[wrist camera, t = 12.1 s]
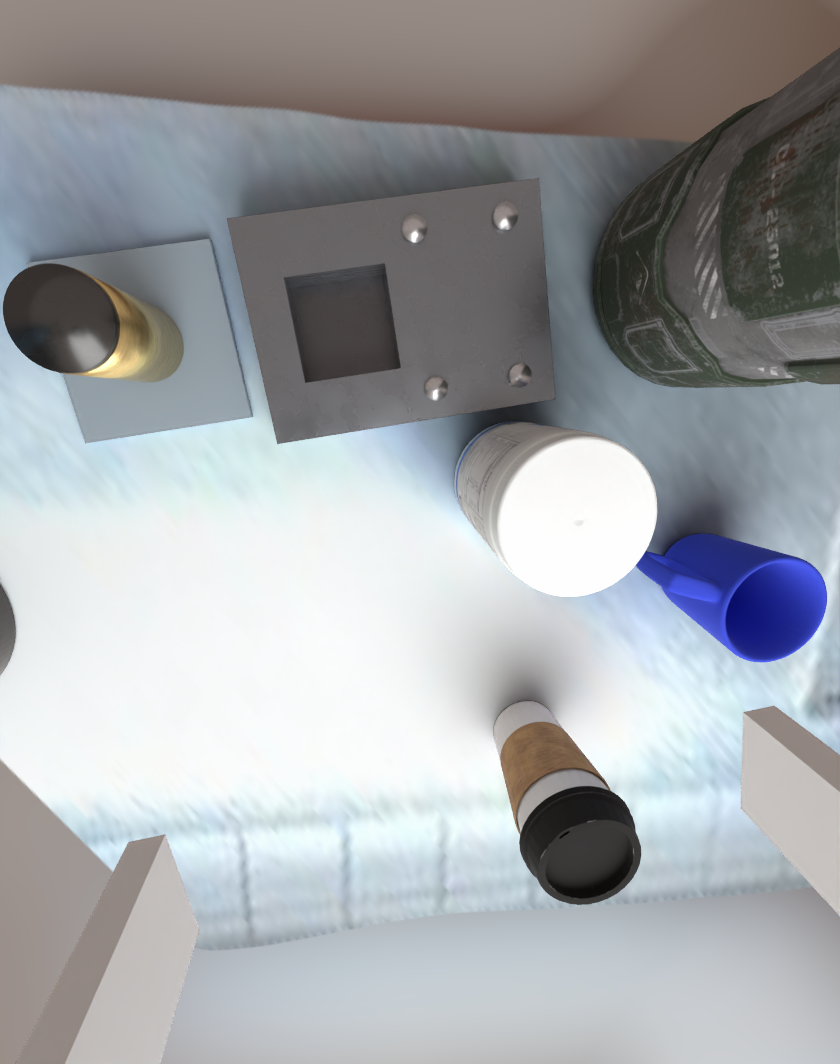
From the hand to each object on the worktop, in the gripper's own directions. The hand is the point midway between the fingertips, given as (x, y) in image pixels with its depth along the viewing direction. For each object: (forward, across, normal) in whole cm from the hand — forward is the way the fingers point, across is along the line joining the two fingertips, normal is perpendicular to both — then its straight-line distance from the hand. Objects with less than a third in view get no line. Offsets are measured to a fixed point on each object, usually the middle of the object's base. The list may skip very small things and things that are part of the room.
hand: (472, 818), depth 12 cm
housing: (+32, +3, +14) cm, 35 cm away
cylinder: (+31, -15, +15) cm, 38 cm away
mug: (+32, +24, -9) cm, 41 cm away
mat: (+32, -15, +15) cm, 38 cm away
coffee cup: (+32, +9, -23) cm, 40 cm away
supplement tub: (+32, +10, +1) cm, 33 cm away
